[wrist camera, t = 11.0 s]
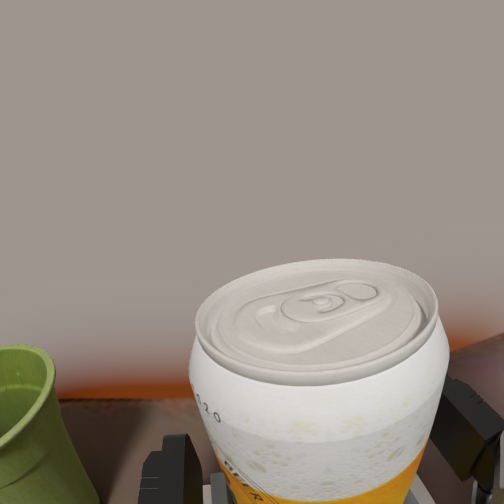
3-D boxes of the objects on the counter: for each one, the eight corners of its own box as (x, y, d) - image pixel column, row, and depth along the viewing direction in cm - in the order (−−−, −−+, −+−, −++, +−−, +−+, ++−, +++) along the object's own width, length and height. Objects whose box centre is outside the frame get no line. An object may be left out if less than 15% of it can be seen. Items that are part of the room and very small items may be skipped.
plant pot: (150, 468, 19) (90, 344, 16) (107, 598, 8) (-32, 503, 4) (38, 444, 20) (-22, 337, 17) (-18, 533, 9) (-117, 422, 5)
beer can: (245, 528, 13) (163, 288, 9) (342, 489, 15) (347, 242, 11) (288, 608, 7) (215, 449, 3) (398, 555, 9) (507, 297, 5)
